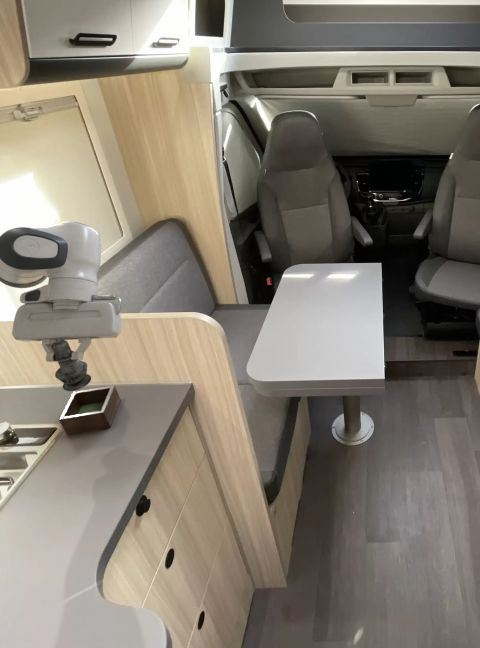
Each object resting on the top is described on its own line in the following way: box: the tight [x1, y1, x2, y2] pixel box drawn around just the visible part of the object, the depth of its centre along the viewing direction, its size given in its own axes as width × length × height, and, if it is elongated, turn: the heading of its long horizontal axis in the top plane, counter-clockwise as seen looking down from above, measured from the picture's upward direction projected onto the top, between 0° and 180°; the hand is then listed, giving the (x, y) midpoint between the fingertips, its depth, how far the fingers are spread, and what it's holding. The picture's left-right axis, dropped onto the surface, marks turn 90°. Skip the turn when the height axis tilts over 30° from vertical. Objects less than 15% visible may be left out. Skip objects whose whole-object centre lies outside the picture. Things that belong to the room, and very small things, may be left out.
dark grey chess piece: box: [51, 338, 92, 392], centre depth 92 cm, size 6×6×12 cm
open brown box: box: [58, 384, 122, 436], centre depth 100 cm, size 9×9×5 cm
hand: (64, 361), depth 92 cm, fingers closed on dark grey chess piece, 3 cm apart
